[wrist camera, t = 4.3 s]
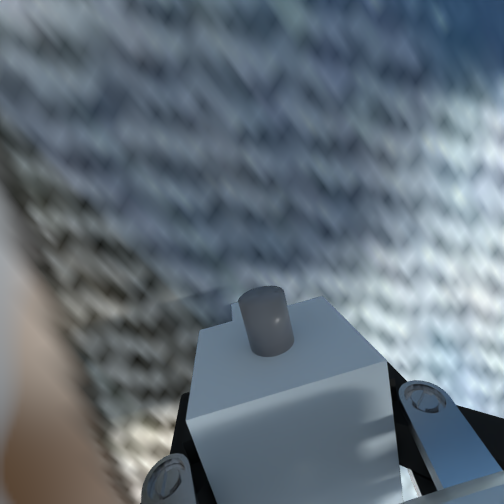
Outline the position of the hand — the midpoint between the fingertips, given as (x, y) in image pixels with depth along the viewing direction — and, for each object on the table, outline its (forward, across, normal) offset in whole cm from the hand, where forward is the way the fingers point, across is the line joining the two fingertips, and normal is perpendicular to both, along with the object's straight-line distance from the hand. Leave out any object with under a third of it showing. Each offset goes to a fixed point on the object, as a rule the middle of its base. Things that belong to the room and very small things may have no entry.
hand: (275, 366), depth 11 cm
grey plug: (+4, 0, 0) cm, 4 cm away
